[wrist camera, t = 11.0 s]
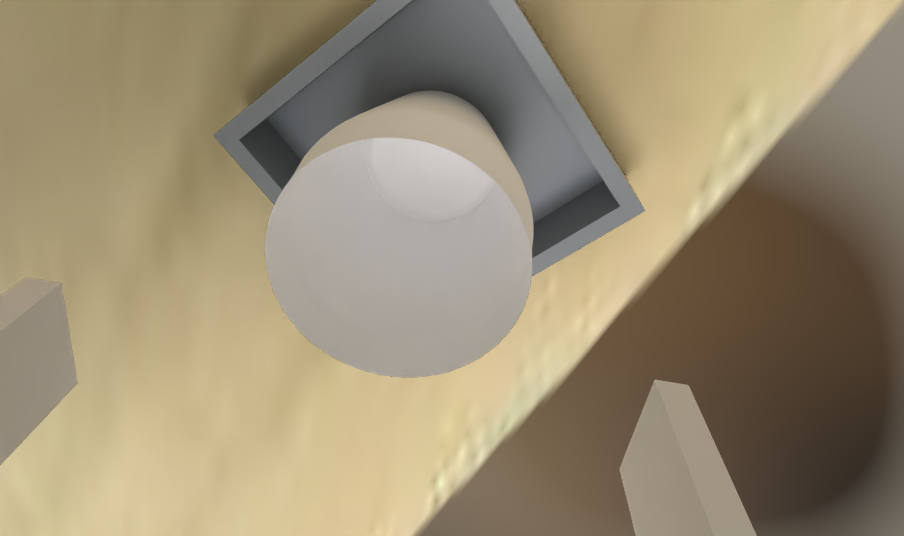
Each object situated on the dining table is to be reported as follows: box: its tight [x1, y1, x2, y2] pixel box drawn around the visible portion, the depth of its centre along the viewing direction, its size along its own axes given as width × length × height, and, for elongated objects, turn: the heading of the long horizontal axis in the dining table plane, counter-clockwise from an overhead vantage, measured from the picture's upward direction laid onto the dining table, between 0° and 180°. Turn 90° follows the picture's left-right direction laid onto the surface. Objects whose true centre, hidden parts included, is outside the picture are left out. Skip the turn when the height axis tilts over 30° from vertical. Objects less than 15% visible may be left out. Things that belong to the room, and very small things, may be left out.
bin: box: [213, 0, 645, 276], centre depth 29 cm, size 14×14×4 cm
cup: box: [265, 90, 533, 378], centre depth 25 cm, size 9×9×12 cm
